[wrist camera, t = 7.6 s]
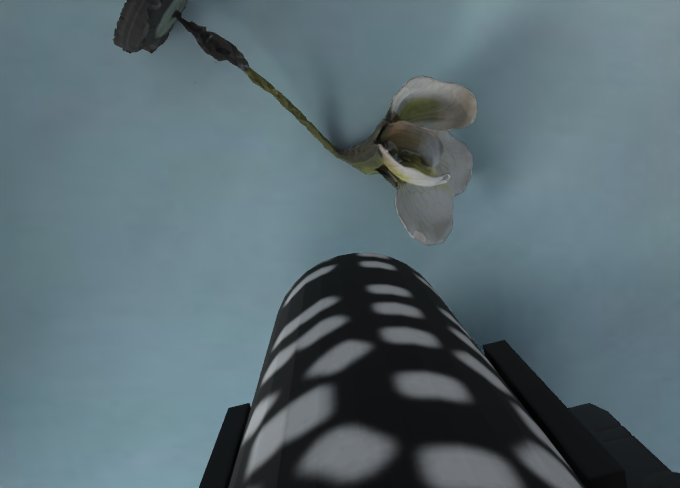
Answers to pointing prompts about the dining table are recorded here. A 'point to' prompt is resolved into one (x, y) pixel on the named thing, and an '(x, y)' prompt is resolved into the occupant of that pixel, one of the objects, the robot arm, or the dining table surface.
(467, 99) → the artificial flower
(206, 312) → the dining table surface
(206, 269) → the dining table surface
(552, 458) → the spotted tube
